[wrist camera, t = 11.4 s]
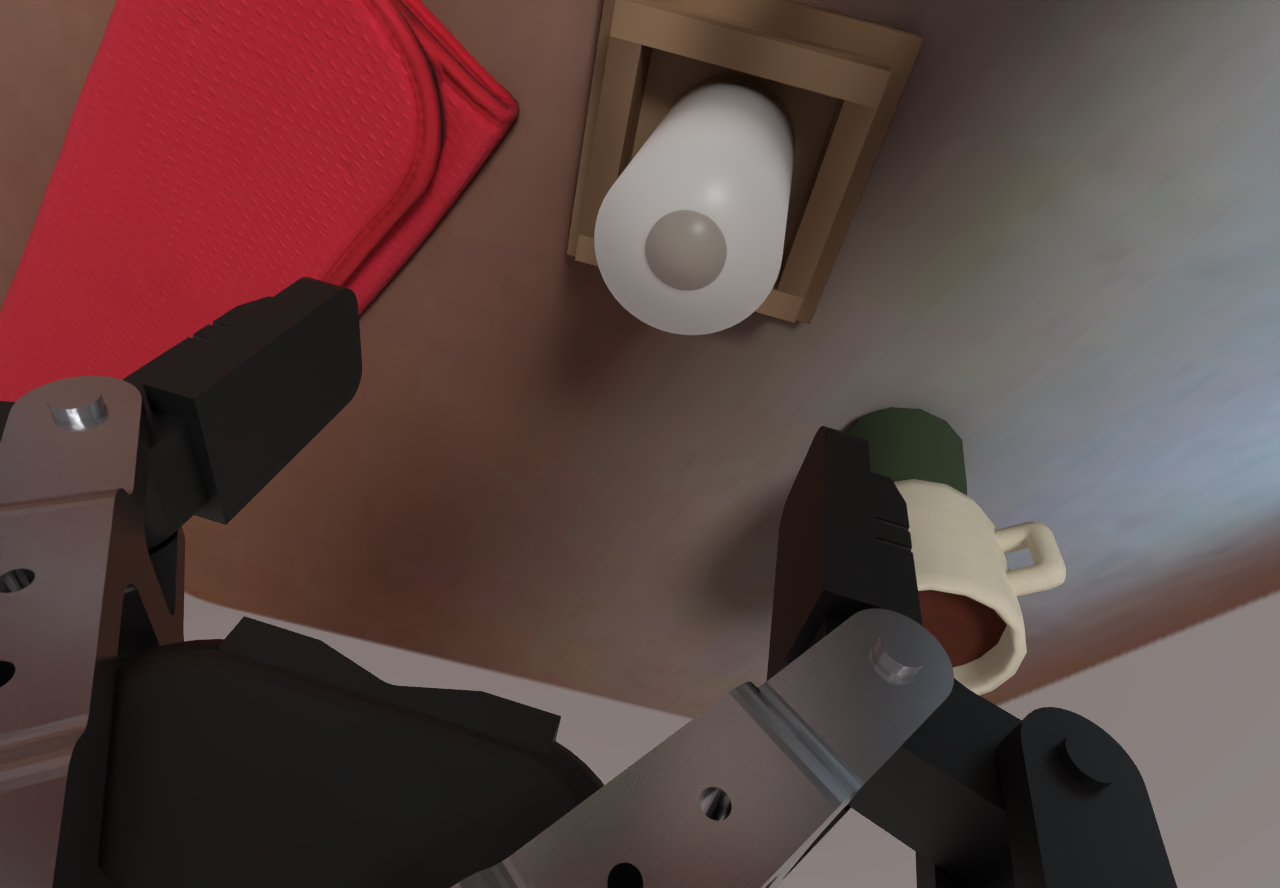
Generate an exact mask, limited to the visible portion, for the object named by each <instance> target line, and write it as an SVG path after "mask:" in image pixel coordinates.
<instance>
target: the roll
mask: <svg viewBox="0 0 1280 888" xmlns="http://www.w3.org/2000/svg"><path fill="white" fill-rule="evenodd" d="M794 157H795V133H794V128H793V124H792V121H791V118H790V115H789V113H788V111H787V109H786V107H785V106H784V104H783V103H782V102H781V100H780V99H779V98H778V97H777V96H776V95H775V94H774V92H772V91H771V90H770V89H769V88H767V87H766V86H765V85H763V84H761V83H759V82H758V81H755V80H753V79H750V78H747V77H743V76H736V75H722V76H716V77H712V78H709V79H706V80H703V81H701V82H700V83H698V84H696V85H694V86H693V87H691V88H690V89H689V90H687V91H686V92H685V93H684V94H683V95H682V96H681V97H680V98H679V99H678V100H677V102H676V103H675V104H674V105H673V107H672V108H671V109H670V111H669V112H668V113H667V115H666V116H665V117H664V119H663V120H662V121H661V122H660V124H659V125H658V126H657V128H656V129H655V130H654V132H653V133H652V134H651V136H650V137H649V138H648V140H647V141H646V142H645V144H644V145H643V146H642V147H641V149H640V150H639V151H638V153H637V154H636V155H635V157H634V158H633V159H632V161H631V162H630V163H629V165H628V166H627V167H626V168H625V170H624V171H623V172H622V174H621V175H620V176H619V178H618V179H617V180H616V182H615V183H614V184H613V186H612V187H611V188H610V190H609V191H608V193H607V195H606V196H605V198H604V200H603V202H602V205H601V207H600V209H599V212H598V216H597V220H596V225H595V232H594V246H595V254H596V259H597V263H598V267H599V270H600V272H601V275H602V277H603V280H604V281H605V283H606V285H607V287H608V289H609V290H610V292H611V293H612V294H613V296H614V297H615V299H616V300H617V301H618V302H619V303H620V304H621V305H622V306H623V307H624V308H625V309H626V310H627V311H628V312H629V313H631V314H632V315H633V316H635V317H636V318H638V319H639V320H641V321H642V322H644V323H646V324H648V325H650V326H652V327H654V328H657V329H659V330H662V331H666V332H670V333H674V334H681V335H704V334H710V333H715V332H719V331H722V330H725V329H727V328H730V327H732V326H734V325H736V324H738V323H740V322H741V321H743V320H744V319H746V318H747V317H749V316H750V315H751V314H752V313H753V312H754V311H755V310H757V309H758V308H759V306H760V305H761V304H762V303H763V302H764V301H765V299H766V298H767V296H768V295H769V293H770V292H771V290H772V288H773V286H774V284H775V282H776V280H777V277H778V274H779V271H780V267H781V262H782V256H783V247H784V239H785V231H786V223H787V214H788V206H789V198H790V190H791V181H792V173H793V165H794Z"/></svg>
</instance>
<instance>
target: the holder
mask: <svg viewBox="0 0 1280 888" xmlns="http://www.w3.org/2000/svg"><path fill="white" fill-rule="evenodd" d="M923 40H924V38H923V37H922V36H920V35H917V34H913V33H909V32H905V31H902V30H898V29H894V28H890V27H887V26H883V25H879V24H876V23H872V22H868V21H864V20H861V19H857V18H853V17H849V16H846V15H842V14H838V13H835V12H831V11H827V10H823V9H820V8H816V7H812V6H808V5H805V4H801V3H797V2H793V1H790V0H604V4H603V11H602V17H601V24H600V31H599V38H598V45H597V51H596V58H595V65H594V72H593V78H592V85H591V92H590V99H589V106H588V112H587V119H586V126H585V133H584V140H583V146H582V153H581V160H580V167H579V174H578V180H577V187H576V194H575V201H574V207H573V214H572V221H571V228H570V235H569V241H568V248H567V255H571V256H574V257H575V260H577V261H580V262H584V263H587V264H591V265H594V266H598V263H597V259H596V254H595V246H594V232H595V225H596V220H597V216H598V212H599V209H600V207H601V205H602V202H603V200H604V198H605V196H606V195H607V193H608V191H609V190H610V188H611V187H612V186H613V184H614V183H615V182H616V180H617V179H618V178H619V176H620V175H621V174H622V172H623V171H624V170H625V168H626V167H627V166H628V165H629V163H630V162H631V161H632V159H633V158H634V157H635V155H636V154H637V153H638V151H639V150H640V149H641V147H642V146H643V145H644V144H645V142H646V141H647V140H648V138H649V137H650V136H651V134H652V133H653V132H654V130H655V129H656V128H657V126H658V125H659V124H660V122H661V121H662V120H663V119H664V117H665V116H666V115H667V113H668V112H669V111H670V109H671V108H672V107H673V105H674V104H675V103H676V102H677V100H678V99H679V98H680V97H681V96H682V95H683V94H684V93H685V92H686V91H687V90H689V89H690V88H691V87H693V86H694V85H696V84H698V83H700V82H701V81H703V80H706V79H709V78H712V77H716V76H722V75H736V76H743V77H747V78H750V79H753V80H755V81H758V82H759V83H761V84H763V85H765V86H766V87H767V88H769V89H770V90H771V91H772V92H774V94H775V95H776V96H777V97H778V98H779V99H780V100H781V102H782V103H783V104H784V106H785V107H786V109H787V111H788V113H789V115H790V118H791V121H792V124H793V128H794V133H795V157H794V165H793V173H792V181H791V190H790V198H789V206H788V214H787V223H786V231H785V239H784V247H783V256H782V262H781V267H780V271H779V274H778V277H777V280H776V282H775V284H774V286H773V288H772V290H771V292H770V293H769V295H768V296H767V298H766V299H765V301H764V302H763V303H762V304H761V305H760V306H759V308H758V309H757V310H755V311H754V312H758V313H761V314H765V315H768V316H772V317H775V318H779V319H782V320H786V321H789V322H792V323H795V320H797V321H801V322H804V323H808V324H810V322H811V319H812V317H813V314H814V312H815V309H816V307H817V304H818V302H819V299H820V297H821V294H822V292H823V289H824V287H825V284H826V282H827V279H828V277H829V274H830V272H831V269H832V267H833V264H834V262H835V259H836V257H837V254H838V252H839V249H840V247H841V244H842V242H843V239H844V237H845V234H846V232H847V230H848V227H849V225H850V222H851V220H852V217H853V215H854V212H855V210H856V207H857V205H858V202H859V200H860V197H861V195H862V192H863V190H864V187H865V185H866V182H867V180H868V177H869V175H870V172H871V170H872V167H873V165H874V162H875V160H876V157H877V155H878V152H879V150H880V147H881V145H882V142H883V140H884V137H885V135H886V133H887V130H888V128H889V125H890V123H891V120H892V118H893V115H894V113H895V110H896V108H897V105H898V103H899V100H900V98H901V95H902V93H903V90H904V88H905V85H906V83H907V80H908V78H909V75H910V73H911V70H912V68H913V65H914V63H915V60H916V58H917V55H918V53H919V50H920V48H921V45H922V43H923Z"/></svg>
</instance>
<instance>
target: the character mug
mask: <svg viewBox="0 0 1280 888" xmlns="http://www.w3.org/2000/svg"><path fill="white" fill-rule="evenodd" d="M847 433H849V434H852V435H856V436H859V437H863V438H866V439H867V440H868V444H869V456H870V469H871V472H873V473H876V474H880V475H883V476H887V477H890V478H891V479H892V481H893V482H894V484H895V485H896V487H897V489H898V490H899V492H900V493H901V495H902V497H903V498H904V500H905V501H906V504H907V512H908V519H909V530H908V531H909V532H910V534H911V542H912V549H911V552H913V557H914V564H915V572H916V579H917V587H918V594H919V602H920V609H921V617H922V624H923V627H924V628H925V629H927V630H928V631H929V632H930V633H931V634H932V635H933V636H934V637H935V638H936V639H937V640H938V642H939V643H940V644H941V645H942V647H943V648H944V650H945V651H946V653H947V655H948V657H949V659H950V661H951V664H952V668H953V673H954V678H955V679H956V680H957V681H959V682H960V683H961V684H962V685H964V686H965V687H966V688H968V689H969V690H971V691H973V692H974V693H976V694H977V695H979V696H980V695H982V694H985V693H988V692H990V691H993V690H994V689H996V688H997V687H998V686H1000V685H1001V684H1002V683H1004V682H1005V681H1006V680H1008V679H1009V678H1010V677H1012V676H1013V675H1014V674H1015V673H1016V671H1017V669H1018V667H1019V665H1020V664H1021V662H1022V660H1023V658H1024V656H1025V654H1026V653H1027V651H1026V640H1025V629H1024V622H1023V616H1022V613H1021V609H1020V606H1019V602H1018V599H1017V596H1021V595H1025V594H1030V593H1035V592H1039V591H1044V590H1049V589H1053V588H1055V587H1057V586H1059V585H1061V584H1063V583H1064V580H1065V576H1066V567H1065V564H1064V561H1063V559H1062V556H1061V554H1060V551H1059V548H1058V546H1057V543H1056V541H1055V538H1054V535H1053V533H1052V531H1051V530H1050V529H1049V528H1048V527H1047V526H1046V525H1045V524H1043V523H1041V522H1026V523H1022V524H1018V525H1014V526H1010V527H1007V528H1003V529H999V530H997V528H996V527H995V525H994V524H993V523H992V522H991V520H990V519H989V518H988V517H987V515H986V514H985V513H984V512H983V511H982V509H981V508H980V507H979V506H978V505H977V503H976V502H975V501H974V500H973V499H972V498H970V497H968V496H967V482H966V473H965V465H964V455H963V445H962V439H961V438H960V437H959V436H958V435H957V434H956V432H955V431H954V430H953V429H952V428H951V426H950V425H949V424H948V423H947V422H946V421H944V420H942V419H940V418H938V417H936V416H934V415H931V414H929V413H927V412H925V411H923V410H921V409H908V408H891V407H890V408H887V409H884V410H881V411H879V412H876V413H873V414H870V415H867V416H864V417H862V418H861V419H860V420H859V421H858V422H857V423H856V424H855V425H854V426H853V427H852V428H851V429H850V430H849V431H848V432H847ZM1025 548H1029V549H1030V552H1031V555H1032V558H1033V561H1034V564H1035V565H1032V566H1028V567H1023V568H1019V569H1015V570H1010V571H1009V569H1008V566H1007V562H1006V559H1005V555H1004V553H1008V552H1012V551H1017V550H1021V549H1025Z"/></svg>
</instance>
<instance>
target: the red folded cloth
mask: <svg viewBox="0 0 1280 888" xmlns="http://www.w3.org/2000/svg"><path fill="white" fill-rule="evenodd" d="M519 112H520V109H519V104H518V102H517V100H516V99H515V98H513V96H512V95H511V94H510V93H509V92H508V91H507V90H506V89H505V88H504V87H503V86H502V85H500V84H499V83H498V82H497V81H496V80H495V79H494V78H493V77H492V76H491V75H490V74H489V73H488V72H487V71H486V70H485V69H484V68H483V67H482V66H481V65H480V64H479V63H478V62H477V61H476V60H475V58H474V57H472V56H471V55H470V54H469V53H468V52H467V51H466V50H465V48H464V47H463V46H462V45H461V44H460V43H459V42H458V40H457V39H456V38H455V37H454V36H453V35H452V34H451V33H450V32H449V31H448V30H447V29H446V28H445V26H444V25H443V24H442V23H441V22H440V21H439V20H438V19H437V18H436V17H435V16H434V15H433V14H432V13H431V12H430V11H429V10H428V9H427V7H426V6H425V5H424V4H423V3H422V2H421V1H420V0H117V1H116V4H115V6H114V9H113V11H112V14H111V17H110V20H109V22H108V25H107V28H106V31H105V34H104V36H103V39H102V42H101V44H100V47H99V50H98V52H97V55H96V58H95V60H94V62H93V64H92V66H91V69H90V71H89V73H88V75H87V78H86V81H85V83H84V86H83V89H82V92H81V94H80V97H79V99H78V102H77V105H76V107H75V110H74V113H73V115H72V118H71V121H70V124H69V127H68V131H67V134H66V137H65V141H64V144H63V147H62V150H61V153H60V156H59V158H58V161H57V163H56V166H55V168H54V171H53V173H52V176H51V178H50V181H49V183H48V186H47V189H46V192H45V195H44V198H43V202H42V204H41V207H40V210H39V213H38V216H37V218H36V221H35V224H34V227H33V229H32V232H31V235H30V237H29V240H28V243H27V245H26V248H25V250H24V253H23V255H22V258H21V261H20V263H19V266H18V269H17V272H16V274H15V277H14V279H13V281H12V283H11V286H10V288H9V291H8V293H7V296H6V298H5V301H4V303H3V306H2V309H1V312H0V401H8V402H16V401H17V400H19V399H20V398H21V397H22V396H23V395H25V394H27V393H28V392H30V391H31V390H33V389H36V388H38V387H40V386H42V385H45V384H48V383H50V382H54V381H58V380H61V379H66V378H72V377H80V376H106V377H112V378H117V379H120V380H122V379H124V378H125V377H127V376H128V375H130V374H132V373H133V372H135V371H136V370H138V369H139V368H141V367H142V366H144V365H146V364H147V363H149V362H150V361H152V360H153V359H155V358H156V357H158V356H160V355H161V354H163V353H164V352H166V351H167V350H169V349H170V348H172V347H174V346H175V345H177V344H178V343H180V342H181V341H183V340H185V339H186V338H188V337H190V338H193V334H194V333H195V332H197V331H199V330H200V329H202V328H203V327H205V326H206V325H208V324H209V325H212V324H213V321H214V320H216V319H217V318H219V317H220V316H222V315H223V314H225V313H227V312H228V311H230V310H231V309H233V308H234V307H236V306H238V305H242V304H245V303H248V302H251V301H255V300H258V299H261V298H264V297H268V296H270V297H273V296H275V295H276V294H278V293H279V292H281V291H282V290H284V289H285V288H287V287H288V286H290V285H291V284H293V283H294V282H296V281H297V280H299V279H301V278H303V277H310V278H314V279H317V280H321V281H324V282H328V283H331V284H335V285H338V286H342V287H345V288H349V289H351V290H352V291H353V292H354V293H355V295H356V297H357V301H358V313H359V315H360V314H361V313H362V312H363V311H364V310H365V309H366V308H367V306H368V305H369V304H370V303H371V302H372V301H373V300H374V299H375V297H376V296H377V295H378V294H379V293H380V292H381V291H382V289H383V288H384V287H385V286H386V285H387V284H388V282H389V281H390V280H391V279H392V278H393V277H394V275H395V274H396V273H397V272H398V271H399V270H400V269H401V267H402V266H403V265H404V264H405V263H406V262H407V261H408V259H409V258H410V257H411V256H412V255H413V253H414V252H415V251H416V250H417V249H418V248H419V246H420V245H421V244H422V243H423V241H424V240H425V239H426V238H427V237H428V235H429V234H430V233H431V232H432V230H433V229H434V228H435V226H436V225H437V224H438V222H439V221H440V220H441V218H442V217H443V216H444V215H445V213H446V212H447V211H448V210H449V208H450V207H451V206H452V204H453V203H454V202H455V200H456V199H457V198H458V196H459V195H460V194H461V192H462V191H463V190H464V188H465V187H466V186H467V184H468V183H469V182H470V181H471V179H472V178H473V177H474V175H475V174H476V173H477V171H478V170H479V169H480V167H481V166H482V165H483V163H484V162H485V161H486V159H487V158H488V157H489V155H490V154H491V152H492V151H493V150H494V148H495V147H496V146H497V145H498V143H499V142H500V141H501V139H502V138H503V136H504V135H505V134H506V132H507V131H508V129H509V127H510V126H511V124H512V123H513V122H514V121H515V120H516V118H517V117H518V115H519Z"/></svg>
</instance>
